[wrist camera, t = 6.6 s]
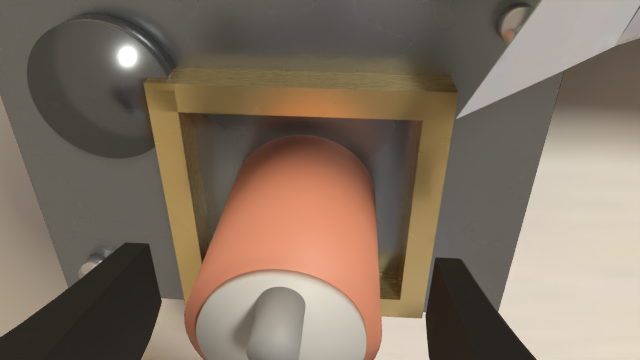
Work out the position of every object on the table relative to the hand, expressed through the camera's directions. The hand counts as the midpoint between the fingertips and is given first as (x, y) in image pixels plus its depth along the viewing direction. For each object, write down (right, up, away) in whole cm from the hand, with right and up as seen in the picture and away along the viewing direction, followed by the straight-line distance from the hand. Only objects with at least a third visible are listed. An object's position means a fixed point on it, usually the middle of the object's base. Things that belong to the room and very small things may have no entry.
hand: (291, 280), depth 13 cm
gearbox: (-1, +5, +5) cm, 7 cm away
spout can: (0, +2, +3) cm, 4 cm away
